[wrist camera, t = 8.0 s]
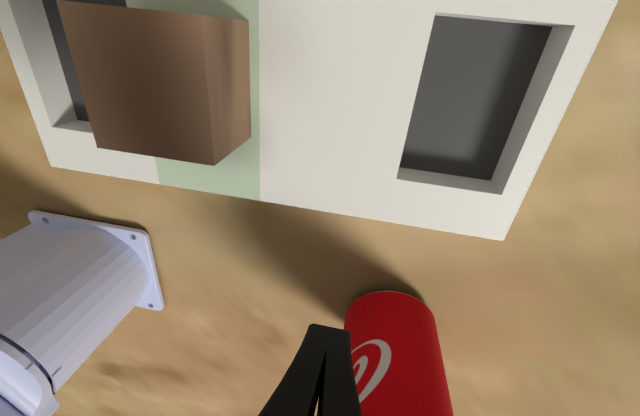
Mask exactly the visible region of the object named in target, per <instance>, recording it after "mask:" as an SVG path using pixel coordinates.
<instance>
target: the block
mask: <svg viewBox="0 0 640 416" xmlns="http://www.w3.org/2000/svg"><path fill="white" fill-rule="evenodd" d="M56 2H57V6H58V9H59V13H60V17H61V20H62V24H63V27H64V31H65V35H66V38H67V42H68V45H69V49H70V52H71V56H72V60H73V63H74V67H75V70H76V74H77V78H78V81H79V85H80V88H81V92H82V95H83V99H84V103H85V106H86V110H87V113H88V117H89V121H90V124H91V128H92V131H93V135H94V138H95V142H96V146H97V148H102V149H108V150H114V151H121V152H127V153H134V154H140V155H146V156H153V157H159V158H166V159H172V160H178V161H185V162H191V163H197V164H204V165H210V166H215V165H216V164H218V163H219V162H220V161H221V160H223V159H224V158H225V157H226V156H228V155H229V154H230V153H232V152H233V151H234V150H235V149H237V148H238V147H239V146H240V145H242V144H243V143H244V142H246V141H247V140H248V139H249V138H251V107H250V57H249V21H246V20H238V19H229V18H221V17H213V16H205V15H196V14H186V13H177V12H167V11H158V10H148V9H139V8H129V7H120V6H110V5H101V4H91V3H82V2H72V1H63V0H56Z"/></svg>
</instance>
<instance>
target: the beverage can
mask: <svg viewBox="0 0 640 416" xmlns="http://www.w3.org/2000/svg"><path fill="white" fill-rule="evenodd" d="M344 330H347V331H349V333H350V342H351V355H352V363H353V370H354V377H355V382H356V387H357V392H358V397H359V402H360V407H361V411H362V415H363V416H453V411H452V406H451V401H450V395H449V390H448V385H447V380H446V375H445V370H444V365H443V360H442V355H441V349H440V344H439V339H438V334H437V329H436V324H435V319H434V316H433V314H432V312H431V311H430V309H429V308H428V307H427V306H426V305H425V304H424V303H423V302H421V301H420V300H418V299H417V298H415V297H413V296H411V295H408V294H405V293H401V292H397V291H377V292H372V293H369V294H366V295H364V296H361V297H360V298H358V299H357V300H355V301H354V302H353V303H352V304H351V305H350V306H349V308H348V310H347V312H346V315H345V323H344Z"/></svg>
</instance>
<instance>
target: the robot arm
mask: <svg viewBox="0 0 640 416" xmlns="http://www.w3.org/2000/svg"><path fill="white" fill-rule="evenodd" d="M28 218H29V221H30V223H31V224H30V225H28V226H26V227H24V228H22V229H21V230H19V231H17V232H15V233H13V234H11V235H9V236H8V237H6V238H4V239H2V240H0V416H51V415H52V414H53V413H54V412H55V411H56V409H57V408H58V407H59V406H60V402H59V401H58V400H57V399H56V398H55V397H54V394H55V393H56V392H57V391H58V390H59V389H60V388H61V387H62V385H63V384H64V383H65V382H66V381H67V380H68V379H69V378H70V377H71V376H72V374H73V373H74V372H75V371H76V370H77V369H78V368H79V367H80V366H81V365H82V363H83V362H84V361H85V360H86V359H87V358H88V357H89V356H90V355H91V354H92V352H93V351H94V350H95V349H96V348H97V347H98V346H99V345H100V344H101V342H102V341H103V340H104V339H105V338H106V337H107V336H108V335H109V334H110V333H111V331H112V330H113V329H114V328H115V327H116V326H117V325H118V324H119V323H120V322H121V320H122V319H123V318H124V317H125V316H126V315H127V314H128V313H129V312H130V311H131V309H132V308H133V307H134V306H137V307H142V308H147V309H152V310H157V311H160V310H162V308H163V307H164V302H163V297H162V293H161V288H160V284H159V279H158V275H157V271H156V266H155V262H154V257H153V253H152V249H151V244H150V240H149V236H148V234H147V233H146V232H145V231H144V230H141V229H135V228H130V227H124V226H119V225H113V224H108V223H102V222H97V221H91V220H86V219H81V218H75V217H70V216H64V215H59V214H53V213H48V212H42V211H37V210H33V211H31V212H29V213H28ZM318 397H319V400H318ZM317 401H318V412H317V416H363V415H362V411H361V407H360V402H359V397H358V392H357V387H356V382H355V377H354V370H353V363H352V355H351V342H350V333H349V331H347V330H342V329H337V328H332V327H327V326H323V325H318V324H311V325H309V327H308V330H307V333H306V335H305V338H304V340H303V342H302V344H301V346H300V348H299V350H298V352H297V354H296V356H295V358H294V360H293V362H292V363H291V365H290V367H289V368H288V370H287V372H286V374H285V375H284V377H283V379H282V380H281V382H280V384H279V385H278V387H277V388H276V390H275V391H274V393H273V394H272V396H271V397H270V399H269V400H268V402H267V403H266V405H265V406H264V408H263V409H262V411H261V412H260V414H259V415H258V416H314V413H315V409H316V405H317Z"/></svg>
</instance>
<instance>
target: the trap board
mask: <svg viewBox="0 0 640 416" xmlns="http://www.w3.org/2000/svg"><path fill="white" fill-rule="evenodd" d="M63 1H72V2H82V3H91V4H101V5H110V6H120V7H129V8H139V9H148V10H158V11H167V12H177V13H186V14H196V15H205V16H213V17H221V18H229V19H238V20H246V21H249V57H250V107H251V138H249V139H248V140H247V141H246V142H244V143H243V144H242V145H240V146H239V147H238V148H237V149H235V150H234V151H233V152H232V153H230V154H229V155H228V156H226V157H225V158H224V159H223V160H221V161H220V162H219V163H218V164H216V165H215V166H210V165H204V164H197V163H191V162H185V161H178V160H172V159H166V158H159V157H153V156H146V155H140V154H134V153H127V152H121V151H114V150H108V149H102V148H97V146H96V142H95V138H94V135H93V131H92V128H91V124H90V121H89V117H88V113H87V110H86V106H85V103H84V99H83V95H82V92H81V88H80V85H79V81H78V78H77V74H76V70H75V67H74V63H73V60H72V56H71V52H70V49H69V45H68V42H67V38H66V35H65V31H64V27H63V24H62V20H61V17H60V13H59V9H58V6H57V2H56V0H0V29H1V32H2V35H3V37H4V40H5V43H6V45H7V48H8V51H9V54H10V56H11V59H12V62H13V64H14V67H15V70H16V73H17V75H18V78H19V81H20V83H21V86H22V89H23V92H24V94H25V97H26V100H27V102H28V105H29V108H30V111H31V113H32V116H33V119H34V121H35V124H36V127H37V130H38V132H39V135H40V138H41V140H42V143H43V146H44V149H45V151H46V154H47V157H48V159H49V162H50V165H51V166H52V167H58V168H64V169H70V170H77V171H83V172H89V173H95V174H101V175H107V176H113V177H119V178H125V179H131V180H137V181H143V182H149V183H155V184H161V185H167V186H173V187H179V188H185V189H191V190H197V191H204V192H210V193H216V194H222V195H228V196H234V197H240V198H246V199H252V200H258V201H264V202H270V203H276V204H282V205H288V206H294V207H300V208H306V209H312V210H318V211H325V212H331V213H337V214H343V215H349V216H355V217H361V218H367V219H373V220H379V221H385V222H391V223H397V224H403V225H409V226H415V227H421V228H427V229H433V230H439V231H445V232H452V233H458V234H464V235H470V236H476V237H482V238H488V239H494V240H500V241H503V240H504V238H505V236H506V234H507V232H508V230H509V228H510V226H511V224H512V221H513V219H514V217H515V215H516V213H517V211H518V209H519V207H520V205H521V203H522V201H523V198H524V196H525V194H526V192H527V190H528V188H529V186H530V184H531V182H532V180H533V178H534V175H535V173H536V171H537V169H538V167H539V165H540V163H541V161H542V159H543V157H544V155H545V152H546V150H547V148H548V146H549V144H550V142H551V140H552V138H553V136H554V134H555V132H556V129H557V127H558V125H559V123H560V121H561V119H562V117H563V115H564V113H565V111H566V109H567V106H568V104H569V102H570V100H571V98H572V96H573V94H574V92H575V90H576V88H577V86H578V83H579V81H580V79H581V77H582V75H583V73H584V71H585V69H586V67H587V65H588V62H589V60H590V58H591V56H592V54H593V52H594V50H595V48H596V46H597V44H598V42H599V39H600V37H601V35H602V33H603V31H604V29H605V27H606V25H607V23H608V21H609V19H610V16H611V14H612V12H613V10H614V8H615V6H616V4H617V2H618V0H63Z"/></svg>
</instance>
